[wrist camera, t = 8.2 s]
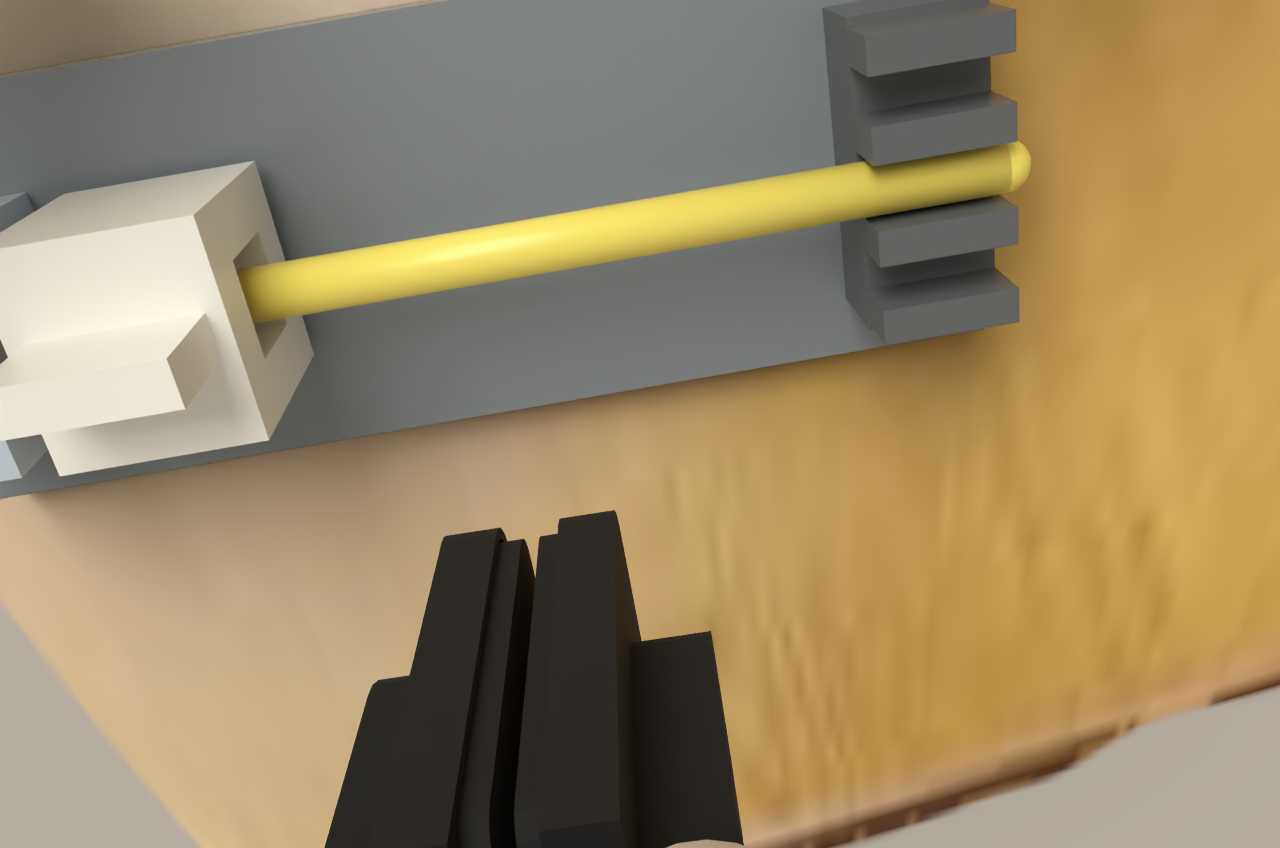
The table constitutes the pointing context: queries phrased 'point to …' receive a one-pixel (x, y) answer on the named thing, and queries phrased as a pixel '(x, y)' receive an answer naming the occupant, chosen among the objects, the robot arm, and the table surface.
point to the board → (555, 184)
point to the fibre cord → (627, 230)
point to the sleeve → (144, 322)
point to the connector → (23, 452)
